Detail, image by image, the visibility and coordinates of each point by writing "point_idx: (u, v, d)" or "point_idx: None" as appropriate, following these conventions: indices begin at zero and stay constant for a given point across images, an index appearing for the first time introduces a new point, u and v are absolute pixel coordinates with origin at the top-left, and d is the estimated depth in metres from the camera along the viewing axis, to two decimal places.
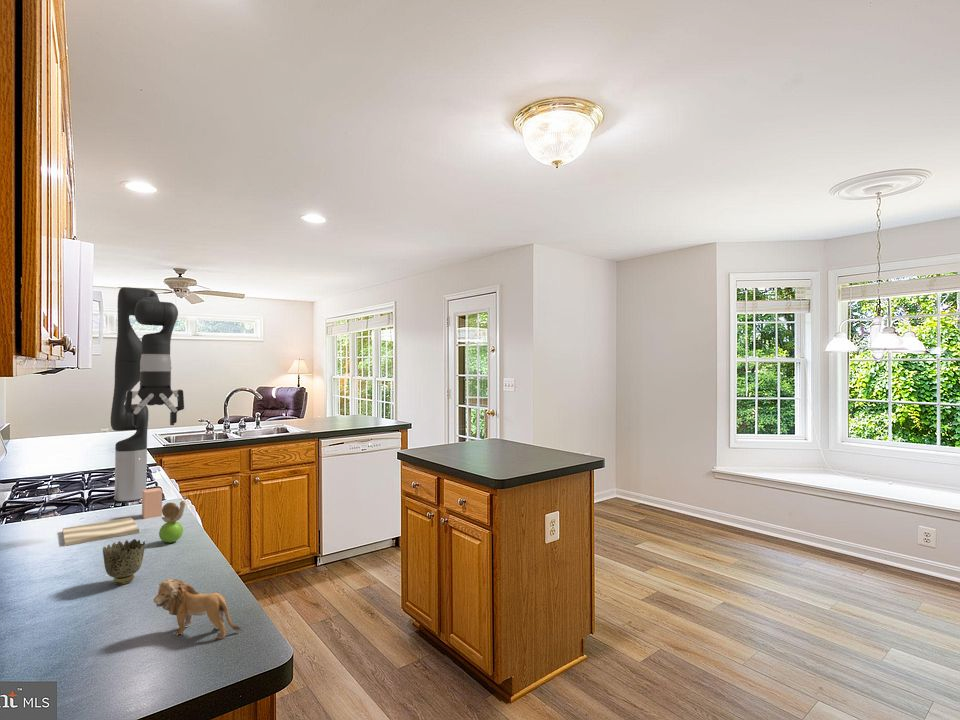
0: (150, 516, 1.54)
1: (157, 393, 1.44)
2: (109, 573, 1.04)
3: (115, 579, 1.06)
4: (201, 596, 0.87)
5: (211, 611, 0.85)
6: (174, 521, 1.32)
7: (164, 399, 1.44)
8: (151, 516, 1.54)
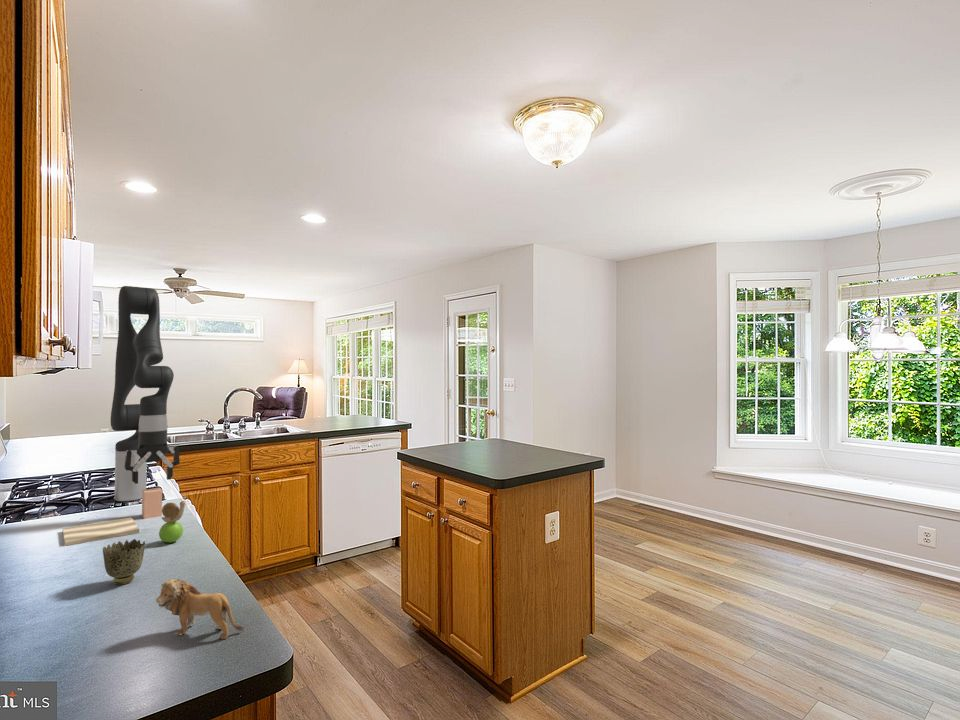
0: (150, 516, 1.54)
1: (154, 451, 1.56)
2: (109, 573, 1.04)
3: (115, 579, 1.06)
4: (203, 596, 0.87)
5: (214, 611, 0.85)
6: (174, 521, 1.32)
7: (161, 456, 1.56)
8: (151, 516, 1.54)
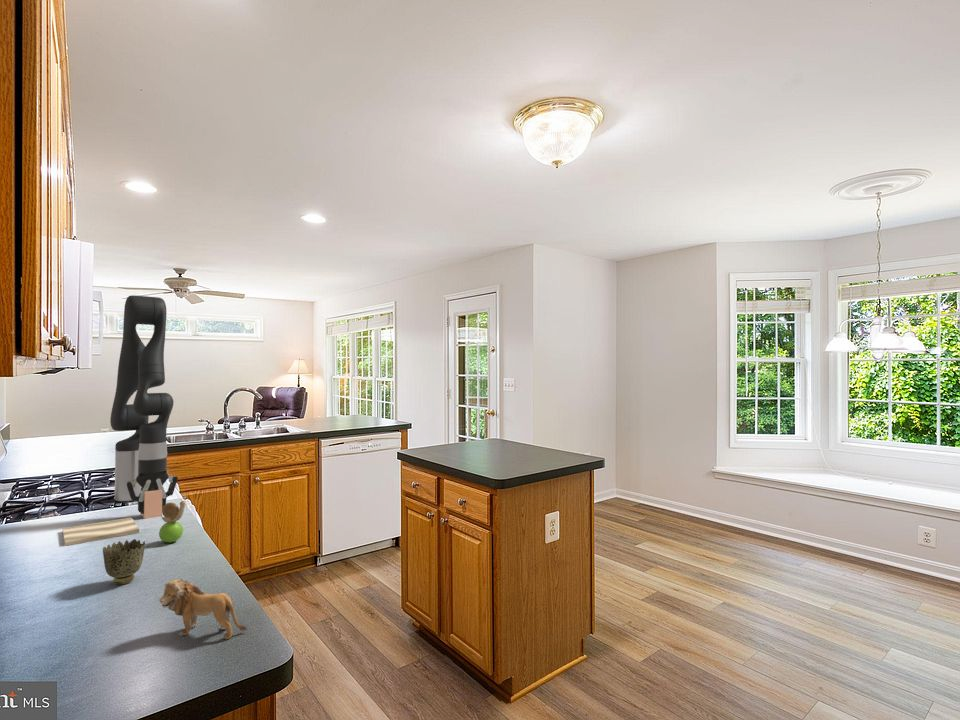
0: (150, 516, 1.54)
1: (154, 478, 1.56)
2: (109, 573, 1.04)
3: (115, 579, 1.06)
4: (207, 596, 0.87)
5: (218, 611, 0.85)
6: (174, 521, 1.32)
7: (159, 484, 1.56)
8: (151, 516, 1.54)
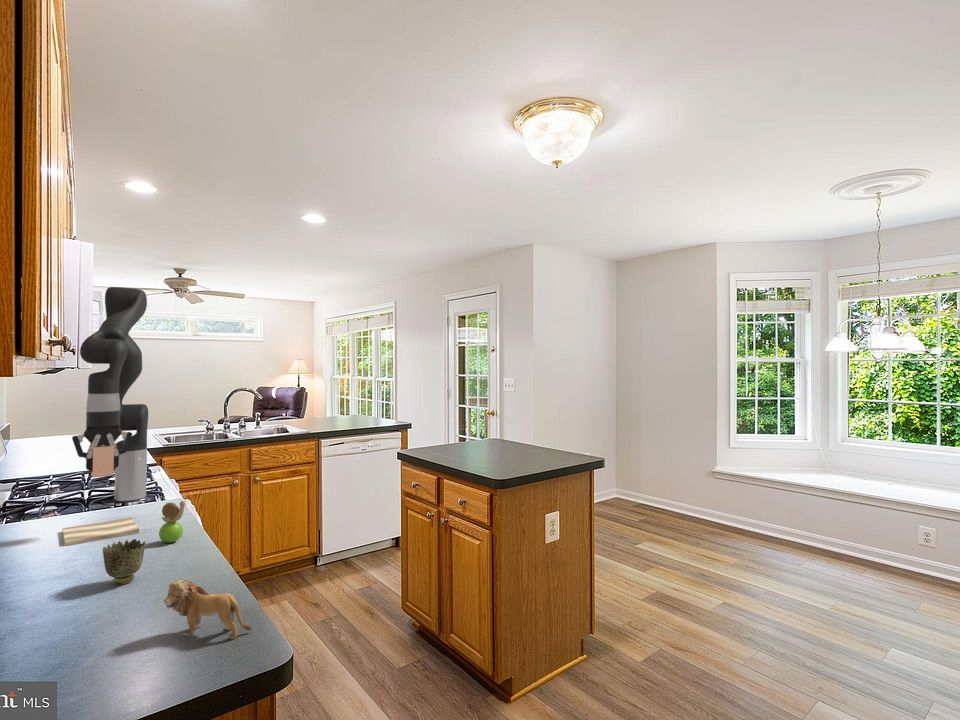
0: (100, 475, 1.38)
1: (104, 433, 1.40)
2: (109, 573, 1.04)
3: (115, 579, 1.06)
4: (211, 596, 0.87)
5: (222, 611, 0.85)
6: (174, 521, 1.32)
7: (110, 440, 1.40)
8: (101, 474, 1.38)
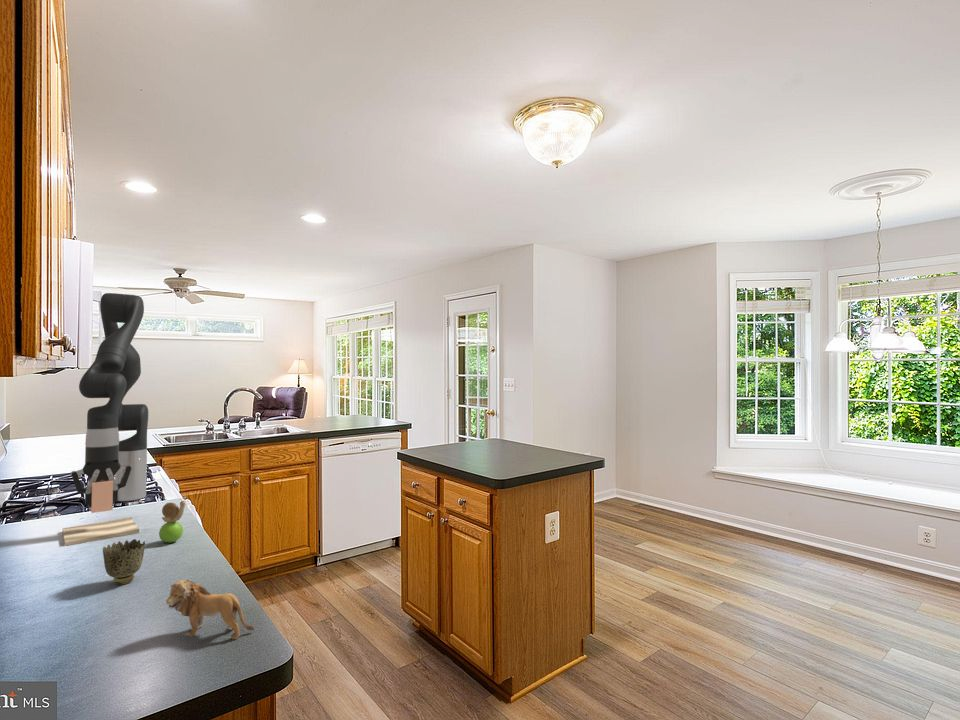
0: (99, 510, 1.38)
1: (103, 468, 1.40)
2: (109, 573, 1.04)
3: (115, 579, 1.06)
4: (213, 596, 0.87)
5: (225, 611, 0.85)
6: (174, 521, 1.32)
7: (109, 475, 1.40)
8: (99, 510, 1.38)
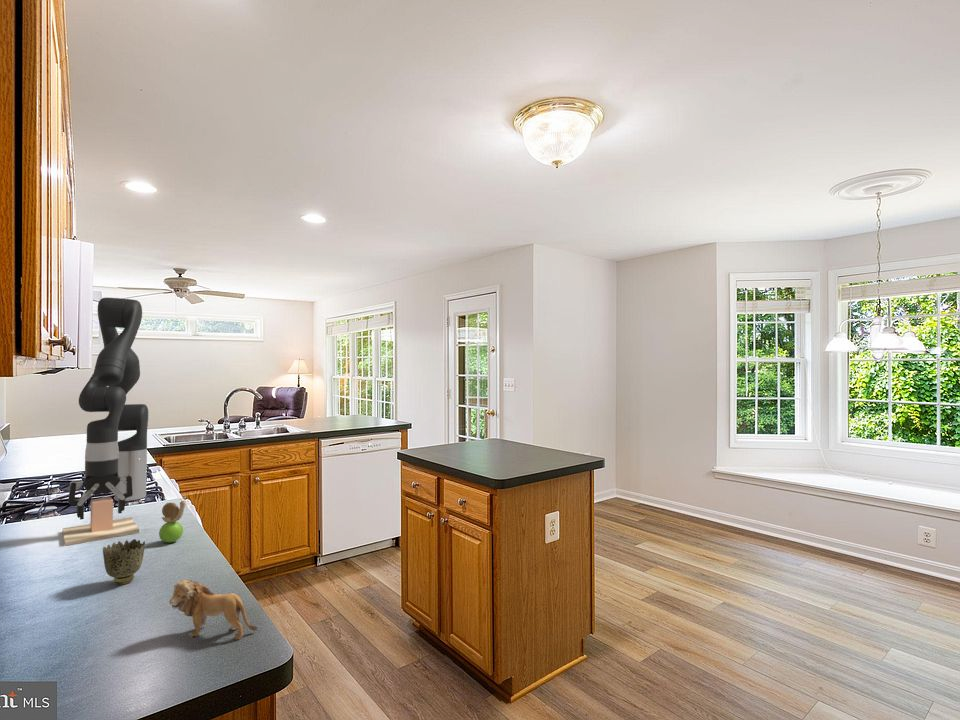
0: (99, 529, 1.38)
1: (103, 482, 1.40)
2: (109, 573, 1.04)
3: (115, 579, 1.06)
4: (217, 596, 0.87)
5: (228, 611, 0.85)
6: (174, 521, 1.32)
7: (111, 488, 1.40)
8: (100, 529, 1.38)
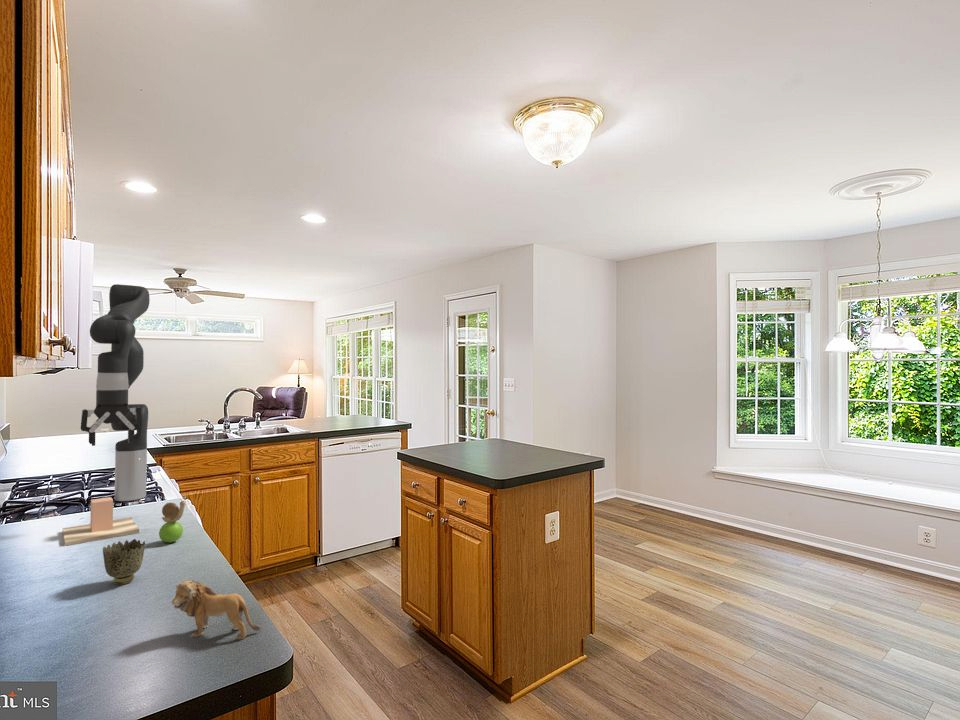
0: (99, 529, 1.38)
1: (114, 411, 1.45)
2: (109, 573, 1.04)
3: (115, 579, 1.06)
4: (219, 597, 0.86)
5: (231, 612, 0.85)
6: (174, 521, 1.32)
7: (121, 417, 1.46)
8: (100, 529, 1.38)
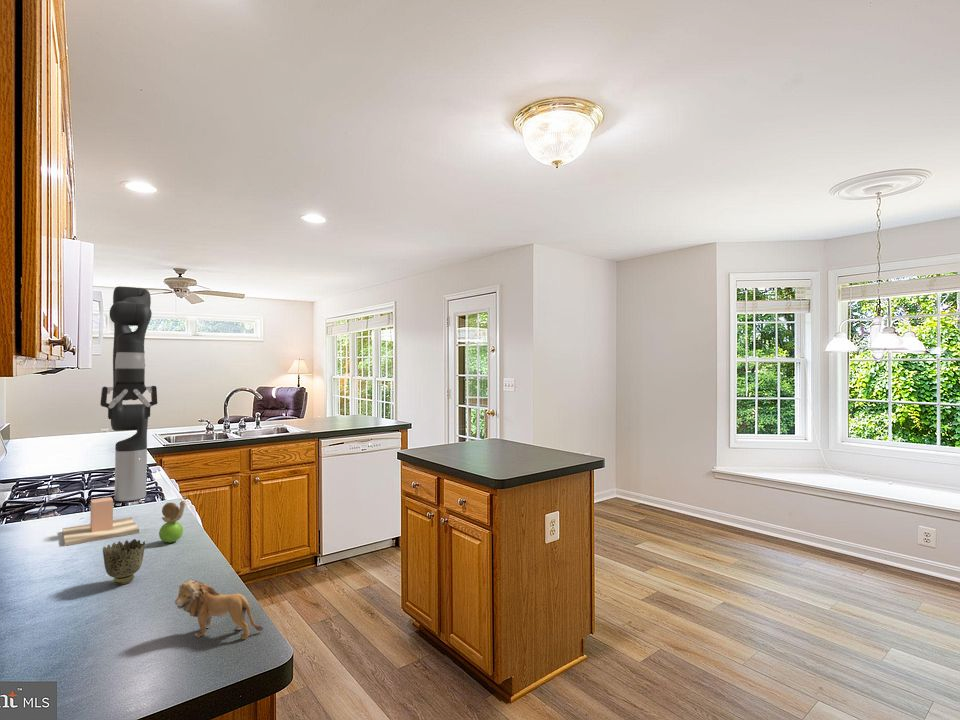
0: (99, 529, 1.38)
1: (131, 389, 1.54)
2: (109, 573, 1.04)
3: (115, 579, 1.06)
4: (222, 597, 0.86)
5: (234, 612, 0.85)
6: (174, 521, 1.32)
7: (138, 394, 1.54)
8: (100, 529, 1.38)
